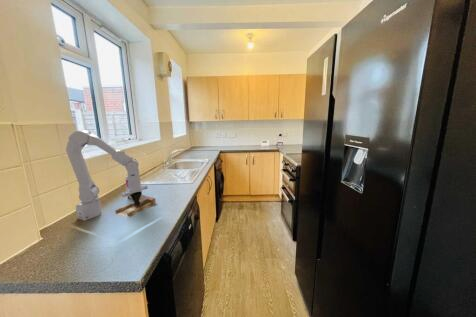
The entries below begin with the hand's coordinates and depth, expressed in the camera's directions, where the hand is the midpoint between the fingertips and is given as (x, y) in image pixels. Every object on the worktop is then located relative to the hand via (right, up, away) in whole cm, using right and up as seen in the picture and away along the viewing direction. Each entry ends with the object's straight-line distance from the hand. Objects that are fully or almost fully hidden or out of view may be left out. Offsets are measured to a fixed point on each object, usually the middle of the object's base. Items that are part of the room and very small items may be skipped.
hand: (137, 204), depth 107 cm
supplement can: (-10, 0, +17) cm, 20 cm away
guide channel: (0, -3, 0) cm, 3 cm away
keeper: (+1, -1, +3) cm, 3 cm away
